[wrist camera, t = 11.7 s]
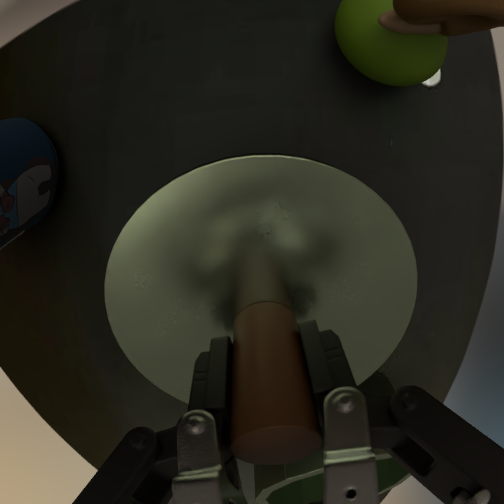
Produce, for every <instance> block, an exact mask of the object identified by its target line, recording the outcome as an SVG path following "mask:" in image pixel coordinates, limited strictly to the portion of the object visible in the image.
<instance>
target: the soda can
mask: <svg viewBox="0 0 504 504" xmlns="http://www.w3.org/2000/svg"><path fill="white" fill-rule="evenodd" d="M58 176H59V165H58V158H57V154H56V151H55V148H54V146H53V144H52V142H51V140H50V139H49V137H48V136H47V135H46V134H45V133H44V131H43V130H42V129H41V128H40V127H39V126H38V125H36V124H35V123H33V122H32V121H30V120H27V119H24V118H11V119H5V120H0V250H1V249H2V248H3V247H4V246H6V245H7V244H8V243H10V242H11V241H12V240H14V239H15V238H17V237H18V236H19V235H21V234H22V233H23V232H25V231H26V230H28V229H29V228H31V227H32V226H33V225H35V224H36V223H38V222H39V221H40V220H41V219H42V218H43V217H44V216H45V215H46V213H47V212H48V210H49V208H50V206H51V204H52V201H53V199H54V195H55V192H56V188H57V183H58Z"/></svg>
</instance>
